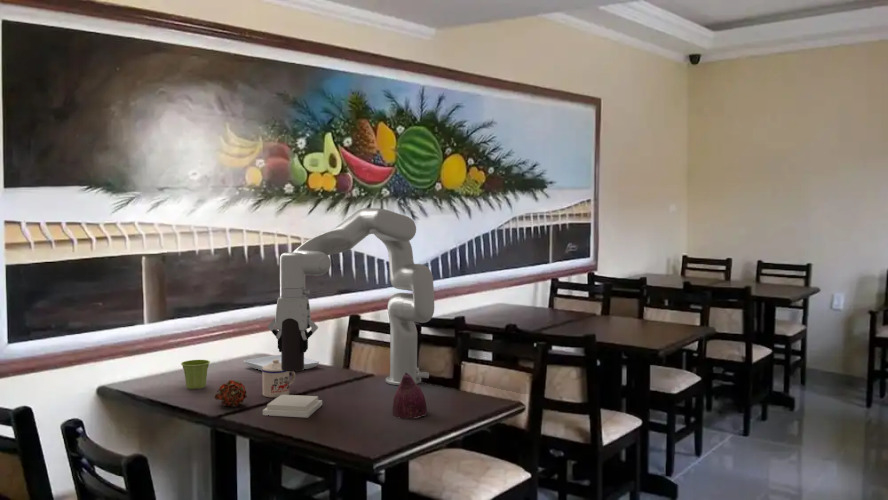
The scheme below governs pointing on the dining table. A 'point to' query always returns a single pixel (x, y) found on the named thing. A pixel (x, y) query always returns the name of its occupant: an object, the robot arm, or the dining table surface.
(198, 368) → the plant pot
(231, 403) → the dragon fruit
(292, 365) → the dark brown water bottle
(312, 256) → the robot arm
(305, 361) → the salad plate
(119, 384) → the dining table surface
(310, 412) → the stand
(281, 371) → the teacup with lid
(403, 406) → the vegetable
